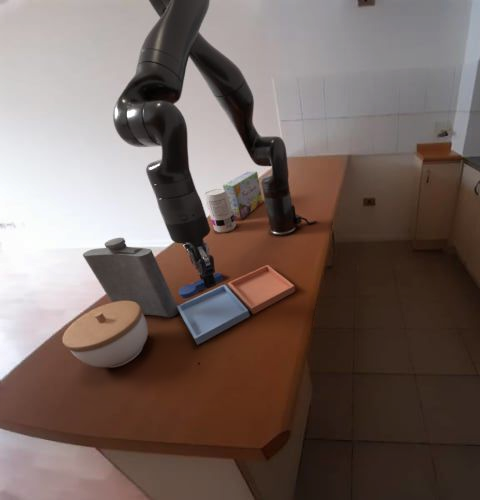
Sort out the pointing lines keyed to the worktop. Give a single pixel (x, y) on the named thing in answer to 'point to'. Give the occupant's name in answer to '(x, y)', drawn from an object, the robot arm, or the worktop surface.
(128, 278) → the hip flask
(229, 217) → the supplement can
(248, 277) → the orange tray
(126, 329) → the lidded bowl
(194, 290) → the blue spoon
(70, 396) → the worktop surface
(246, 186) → the snack box
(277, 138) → the robot arm
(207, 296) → the blue tray
